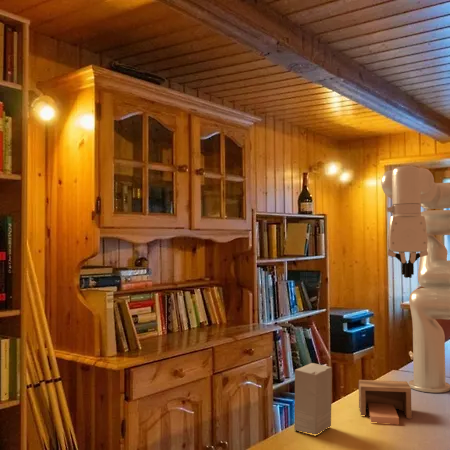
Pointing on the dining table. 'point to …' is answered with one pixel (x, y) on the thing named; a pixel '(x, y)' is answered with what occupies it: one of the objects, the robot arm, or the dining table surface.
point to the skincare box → (313, 398)
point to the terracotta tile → (383, 413)
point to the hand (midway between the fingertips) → (407, 277)
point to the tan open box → (385, 394)
